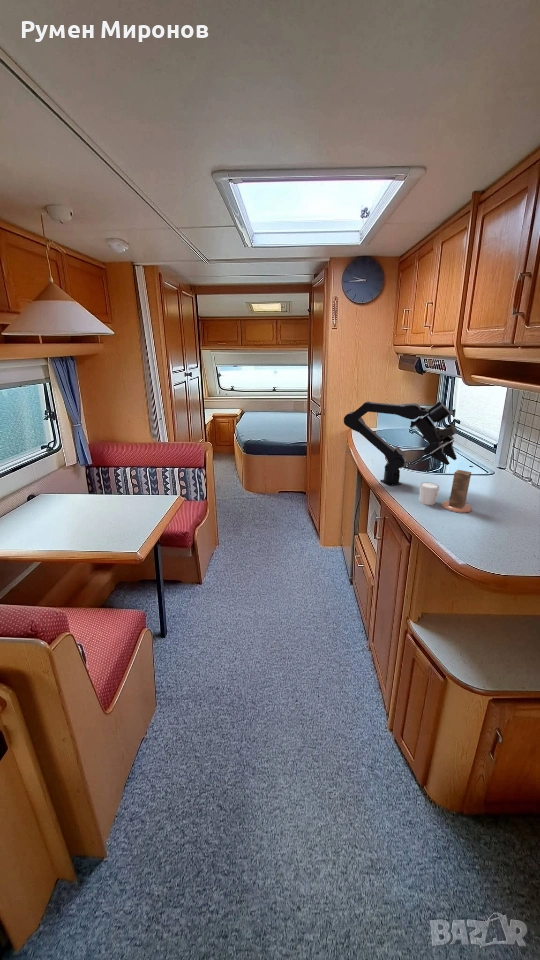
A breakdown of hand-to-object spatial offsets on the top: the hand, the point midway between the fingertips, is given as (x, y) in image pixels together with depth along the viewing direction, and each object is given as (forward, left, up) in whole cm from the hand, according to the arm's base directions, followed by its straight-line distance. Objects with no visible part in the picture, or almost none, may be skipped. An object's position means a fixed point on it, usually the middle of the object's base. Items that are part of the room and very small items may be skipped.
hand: (452, 462), depth 157 cm
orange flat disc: (+12, -7, -14) cm, 19 cm away
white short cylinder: (+5, -14, -14) cm, 20 cm away
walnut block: (+12, -7, -13) cm, 19 cm away
